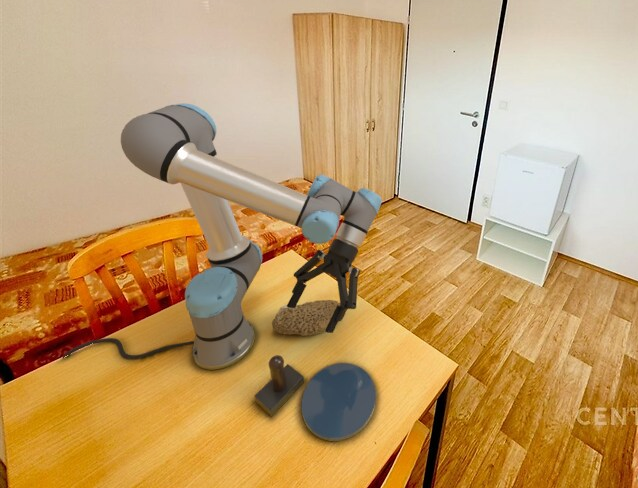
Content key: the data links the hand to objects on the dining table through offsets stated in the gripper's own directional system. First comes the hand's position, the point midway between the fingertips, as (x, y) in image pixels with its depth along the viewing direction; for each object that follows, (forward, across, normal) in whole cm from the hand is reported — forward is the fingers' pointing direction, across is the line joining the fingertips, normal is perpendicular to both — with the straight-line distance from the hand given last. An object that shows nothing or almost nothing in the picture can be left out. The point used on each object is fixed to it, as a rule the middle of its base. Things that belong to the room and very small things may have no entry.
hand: (308, 319), depth 81 cm
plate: (+14, -13, -9) cm, 21 cm away
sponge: (+5, +9, -17) cm, 20 cm away
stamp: (+19, 0, -4) cm, 19 cm away
